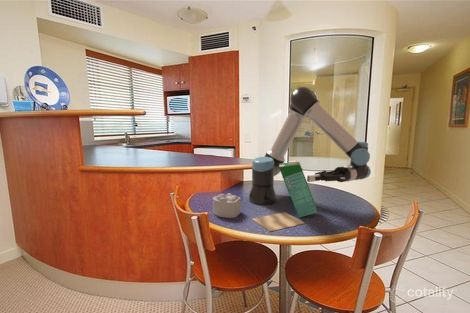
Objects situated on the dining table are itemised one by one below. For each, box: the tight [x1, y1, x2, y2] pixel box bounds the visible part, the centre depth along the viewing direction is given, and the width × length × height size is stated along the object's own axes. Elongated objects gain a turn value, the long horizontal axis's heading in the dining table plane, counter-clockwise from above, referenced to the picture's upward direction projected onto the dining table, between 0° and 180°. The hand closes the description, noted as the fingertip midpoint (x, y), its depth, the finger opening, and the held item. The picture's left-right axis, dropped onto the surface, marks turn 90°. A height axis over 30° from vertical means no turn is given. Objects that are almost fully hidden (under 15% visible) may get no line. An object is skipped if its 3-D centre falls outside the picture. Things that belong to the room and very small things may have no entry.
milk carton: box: [279, 160, 319, 219], centre depth 114 cm, size 9×9×25 cm
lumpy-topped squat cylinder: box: [212, 192, 242, 219], centre depth 117 cm, size 10×13×9 cm
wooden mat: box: [251, 211, 306, 233], centre depth 107 cm, size 18×14×1 cm
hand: (308, 178), depth 111 cm, fingers closed
